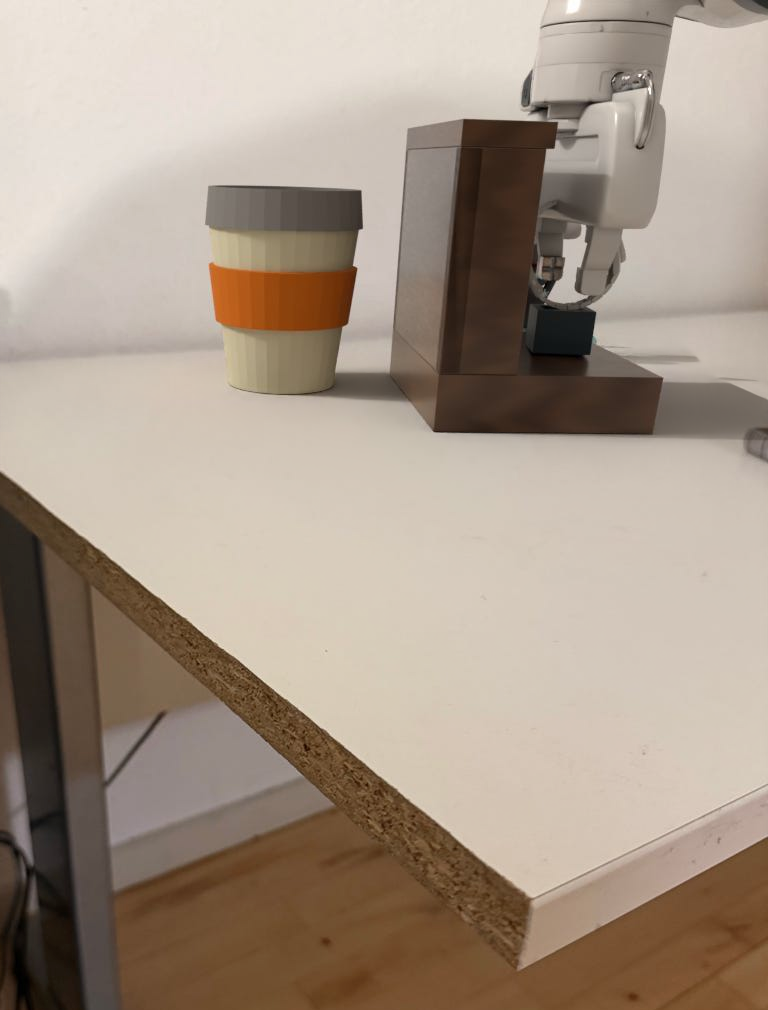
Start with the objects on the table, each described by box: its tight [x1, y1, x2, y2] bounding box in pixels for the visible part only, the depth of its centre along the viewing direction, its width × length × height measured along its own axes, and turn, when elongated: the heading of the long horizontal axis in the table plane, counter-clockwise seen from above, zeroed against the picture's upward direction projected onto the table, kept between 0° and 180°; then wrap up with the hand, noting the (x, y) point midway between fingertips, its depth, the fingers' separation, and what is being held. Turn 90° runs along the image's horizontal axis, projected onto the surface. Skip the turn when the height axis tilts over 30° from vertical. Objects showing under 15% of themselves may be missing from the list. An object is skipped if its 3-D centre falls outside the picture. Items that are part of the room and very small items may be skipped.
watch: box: [525, 199, 627, 355], centre depth 73 cm, size 6×8×11 cm
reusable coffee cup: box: [204, 184, 364, 395], centre depth 78 cm, size 12×13×15 cm
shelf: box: [389, 118, 664, 435], centre depth 72 cm, size 16×20×20 cm
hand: (567, 286), depth 73 cm, fingers open, 8 cm apart
